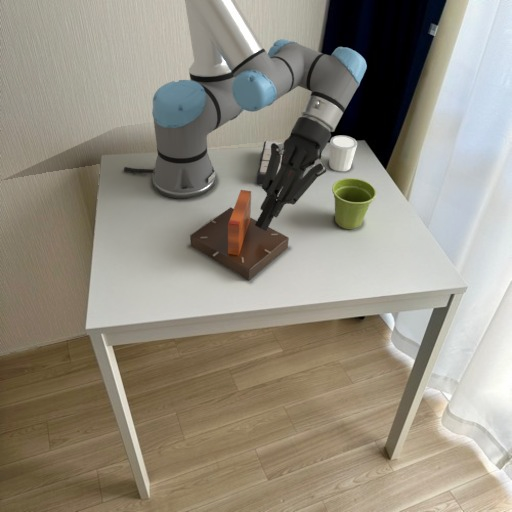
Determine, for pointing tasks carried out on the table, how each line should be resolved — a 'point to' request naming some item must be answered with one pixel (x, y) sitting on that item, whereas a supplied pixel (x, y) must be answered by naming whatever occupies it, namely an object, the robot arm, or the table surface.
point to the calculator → (265, 160)
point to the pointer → (239, 222)
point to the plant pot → (352, 201)
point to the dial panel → (252, 251)
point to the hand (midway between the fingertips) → (260, 228)
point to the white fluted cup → (342, 152)
